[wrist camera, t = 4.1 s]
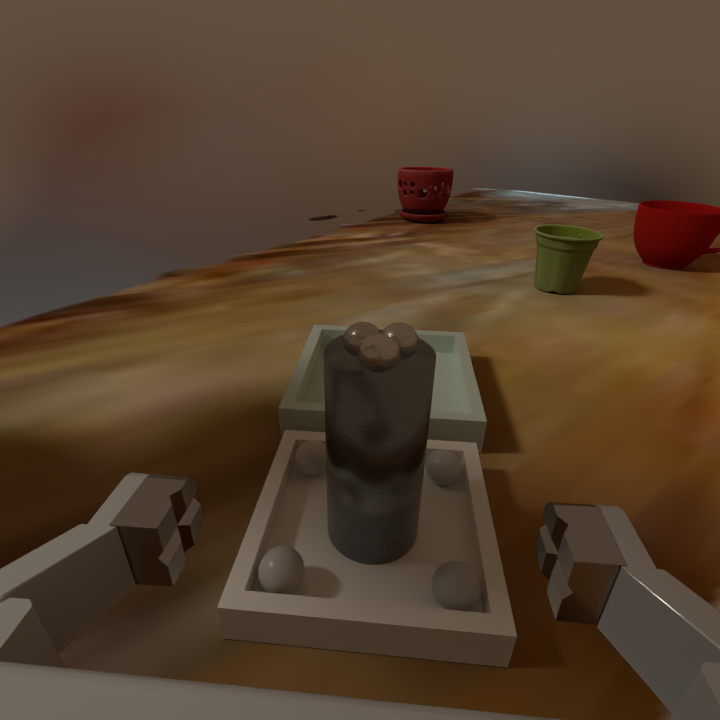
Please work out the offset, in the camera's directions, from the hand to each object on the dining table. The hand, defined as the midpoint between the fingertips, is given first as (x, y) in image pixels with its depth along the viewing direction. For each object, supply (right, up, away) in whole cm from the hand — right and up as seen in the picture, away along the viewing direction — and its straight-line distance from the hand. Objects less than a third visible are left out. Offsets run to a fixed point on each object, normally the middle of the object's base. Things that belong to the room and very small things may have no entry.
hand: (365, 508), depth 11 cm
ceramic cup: (+56, +20, +72) cm, 93 cm away
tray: (+1, -8, +18) cm, 20 cm away
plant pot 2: (+30, +14, +60) cm, 69 cm away
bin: (+2, 0, +33) cm, 33 cm away
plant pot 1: (+15, +38, +105) cm, 113 cm away
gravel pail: (+1, -7, +18) cm, 19 cm away
